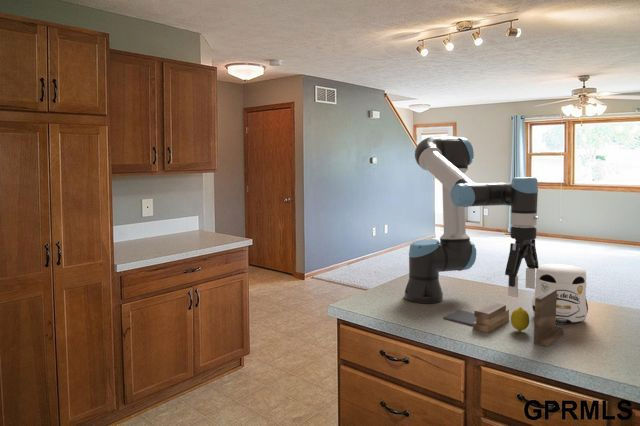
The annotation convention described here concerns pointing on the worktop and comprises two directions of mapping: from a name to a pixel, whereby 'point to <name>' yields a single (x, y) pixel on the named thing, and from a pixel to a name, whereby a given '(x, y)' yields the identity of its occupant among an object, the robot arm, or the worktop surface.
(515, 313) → the lemon
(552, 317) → the wooden blocks
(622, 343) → the worktop surface
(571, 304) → the milk container
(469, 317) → the rubber mat
